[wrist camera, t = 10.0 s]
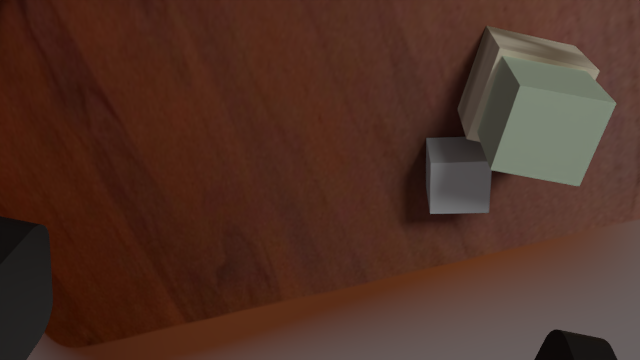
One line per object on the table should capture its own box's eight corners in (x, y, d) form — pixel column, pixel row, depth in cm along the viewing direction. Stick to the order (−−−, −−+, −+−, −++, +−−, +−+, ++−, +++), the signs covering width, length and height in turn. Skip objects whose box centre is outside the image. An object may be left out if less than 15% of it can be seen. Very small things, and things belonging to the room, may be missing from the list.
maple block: (457, 108, 42) (466, 139, 37) (486, 25, 39) (499, 47, 34) (539, 127, 42) (558, 159, 37) (574, 45, 39) (599, 70, 34)
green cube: (502, 55, 34) (520, 85, 30) (586, 71, 34) (616, 103, 30) (476, 131, 37) (490, 170, 33) (555, 146, 37) (579, 186, 33)
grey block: (425, 185, 45) (429, 214, 41) (426, 137, 43) (430, 163, 39) (480, 184, 44) (488, 212, 41) (482, 135, 42) (492, 161, 39)
